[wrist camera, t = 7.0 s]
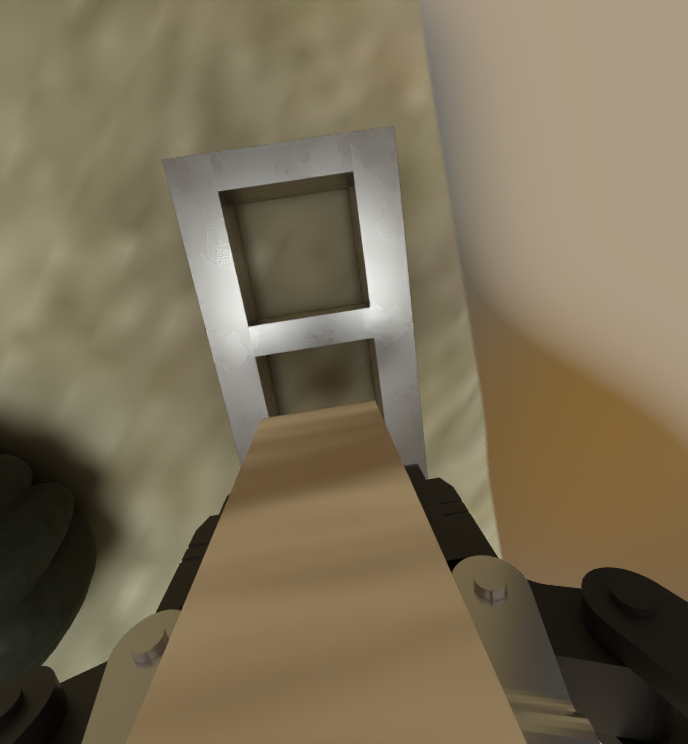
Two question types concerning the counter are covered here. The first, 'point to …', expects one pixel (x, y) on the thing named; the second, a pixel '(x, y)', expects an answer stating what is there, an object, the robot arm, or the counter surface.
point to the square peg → (324, 607)
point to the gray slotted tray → (314, 328)
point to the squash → (38, 566)
